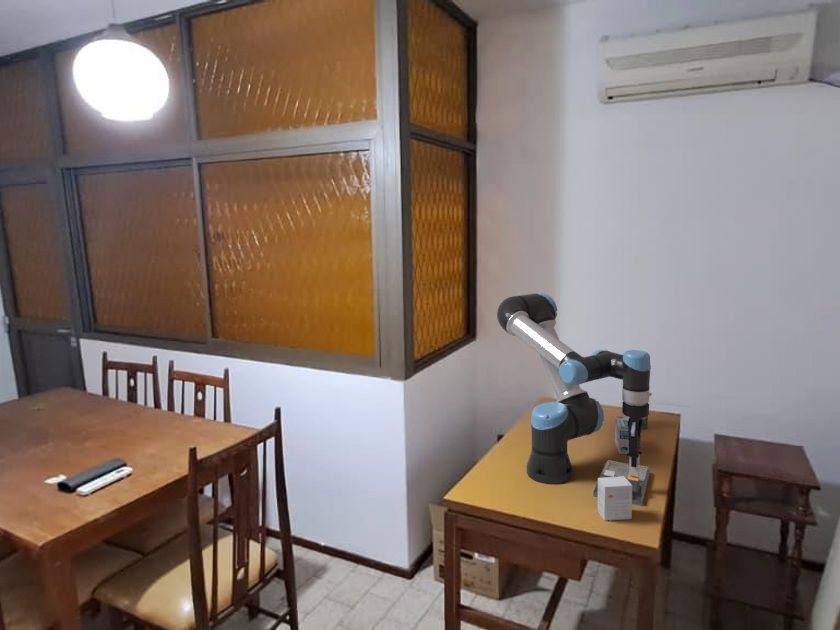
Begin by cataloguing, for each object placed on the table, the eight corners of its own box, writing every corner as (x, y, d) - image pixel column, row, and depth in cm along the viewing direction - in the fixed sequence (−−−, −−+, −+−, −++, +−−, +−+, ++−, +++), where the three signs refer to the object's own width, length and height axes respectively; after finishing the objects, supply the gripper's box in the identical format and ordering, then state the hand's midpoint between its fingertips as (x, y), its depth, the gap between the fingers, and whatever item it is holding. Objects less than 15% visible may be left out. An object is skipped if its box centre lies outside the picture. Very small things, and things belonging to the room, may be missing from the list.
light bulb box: (638, 455, 190) (639, 426, 188) (618, 454, 191) (619, 426, 189) (633, 443, 200) (633, 415, 198) (614, 442, 201) (614, 415, 199)
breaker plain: (611, 491, 163) (611, 486, 162) (601, 489, 164) (601, 484, 163) (615, 476, 168) (615, 471, 167) (605, 474, 170) (605, 469, 169)
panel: (642, 506, 157) (642, 493, 156) (593, 496, 163) (593, 484, 163) (649, 473, 176) (650, 462, 175) (605, 466, 182) (605, 455, 182)
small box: (623, 509, 156) (624, 475, 154) (632, 519, 150) (633, 485, 148) (596, 510, 155) (597, 477, 153) (604, 521, 150) (604, 486, 148)
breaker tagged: (636, 495, 159) (636, 491, 159) (625, 493, 161) (625, 489, 160) (639, 480, 165) (639, 475, 164) (628, 478, 166) (628, 473, 166)
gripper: (646, 410, 153) (644, 486, 157) (651, 396, 164) (649, 468, 168) (619, 407, 156) (618, 481, 160) (625, 394, 168) (624, 464, 172)
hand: (634, 474), depth 164 cm, fingers closed
